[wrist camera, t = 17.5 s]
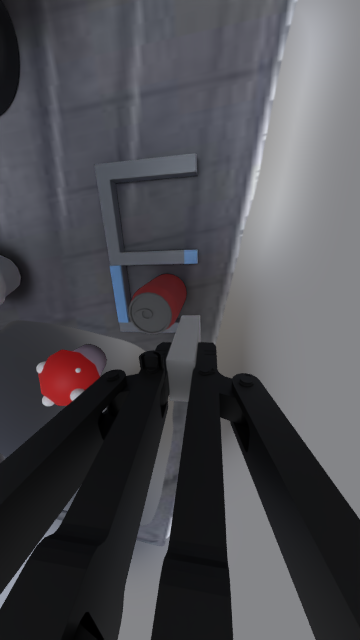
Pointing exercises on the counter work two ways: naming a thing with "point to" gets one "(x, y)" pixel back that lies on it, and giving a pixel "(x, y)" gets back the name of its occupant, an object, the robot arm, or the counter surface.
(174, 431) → the counter surface
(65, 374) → the mushroom
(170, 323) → the beer can
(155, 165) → the duct comb
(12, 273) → the potted plant
